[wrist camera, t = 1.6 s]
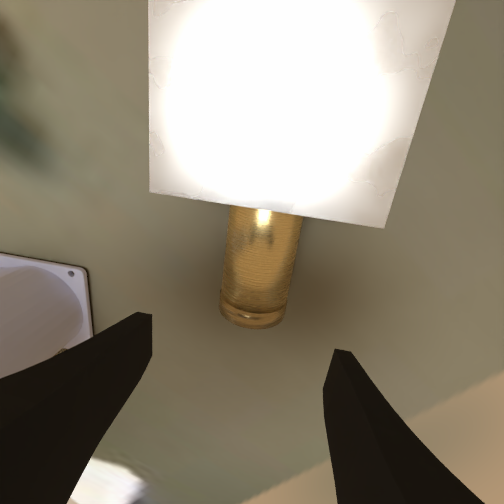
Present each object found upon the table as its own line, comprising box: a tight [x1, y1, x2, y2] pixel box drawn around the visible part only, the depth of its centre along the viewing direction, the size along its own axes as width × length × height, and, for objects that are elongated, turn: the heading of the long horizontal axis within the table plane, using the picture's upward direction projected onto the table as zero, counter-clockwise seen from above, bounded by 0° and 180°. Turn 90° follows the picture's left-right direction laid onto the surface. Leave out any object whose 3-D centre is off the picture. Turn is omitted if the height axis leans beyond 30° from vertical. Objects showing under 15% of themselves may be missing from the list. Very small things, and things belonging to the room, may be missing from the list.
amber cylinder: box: [219, 205, 303, 329], centre depth 16 cm, size 4×11×4 cm, turn 173°
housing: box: [148, 0, 456, 228], centre depth 13 cm, size 10×8×6 cm
